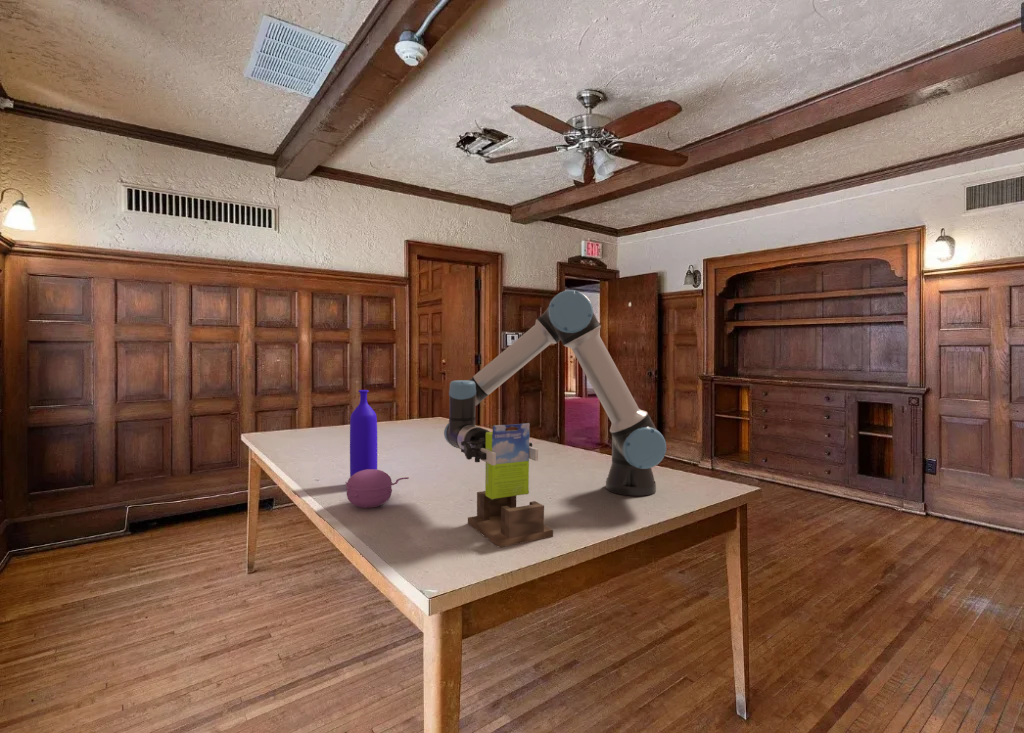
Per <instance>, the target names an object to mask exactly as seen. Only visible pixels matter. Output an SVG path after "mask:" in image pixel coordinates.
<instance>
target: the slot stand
mask: <svg viewBox="0 0 1024 733" xmlns="http://www.w3.org/2000/svg"><path fill="white" fill-rule="evenodd" d="M467 524H468V525H469V526H471V528H473V529H474V530H476V531H477V532H478V533H479V532H480V534H481V535H482V536H483V535H484V536H483V537H485V538H486V539H487V538H488V539H487V540H489V541H490V542H491V543H492V544H494V545H495V546H497V548H502V547H508V546H512V545H517V544H523V543H528V542H532V541H537V540H542V539H546V538H548V539H549V538H551V537H554V530H553V529H552V528H550V527H549V526H548V525H545V505H543V504H541V503H540V502H538V501H535V500H533V501H529V504H528V505H522V506H517V496H510V497H503V498H497V499H493V500H492V499H490V498H488V497H487V496H485V490H482V491H477V492H476V516H475V515H474V516H469V517H467ZM527 541H528V542H527ZM522 542H523V543H522Z"/></svg>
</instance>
